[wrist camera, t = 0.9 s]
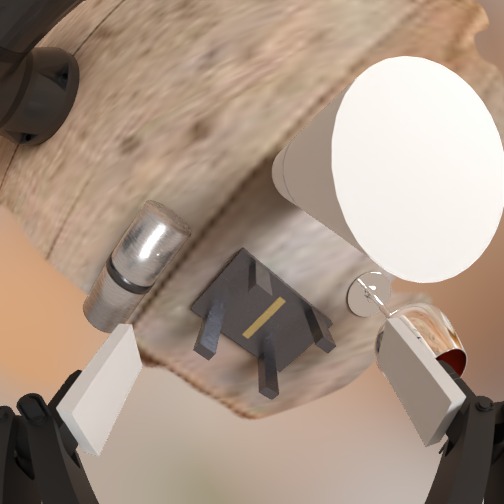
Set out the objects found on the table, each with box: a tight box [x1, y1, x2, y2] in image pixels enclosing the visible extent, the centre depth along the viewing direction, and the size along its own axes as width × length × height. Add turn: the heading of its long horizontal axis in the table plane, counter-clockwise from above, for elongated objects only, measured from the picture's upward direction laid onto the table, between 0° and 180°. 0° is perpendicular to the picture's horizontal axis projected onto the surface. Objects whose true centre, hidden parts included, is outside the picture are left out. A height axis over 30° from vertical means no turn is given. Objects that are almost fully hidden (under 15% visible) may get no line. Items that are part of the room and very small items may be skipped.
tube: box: [83, 200, 191, 333], centre depth 31 cm, size 16×6×6 cm, turn 139°
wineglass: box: [348, 272, 467, 378], centre depth 26 cm, size 8×8×18 cm
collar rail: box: [191, 248, 336, 400], centre depth 31 cm, size 15×10×8 cm, turn 49°
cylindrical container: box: [272, 56, 504, 283], centre depth 19 cm, size 7×7×25 cm
